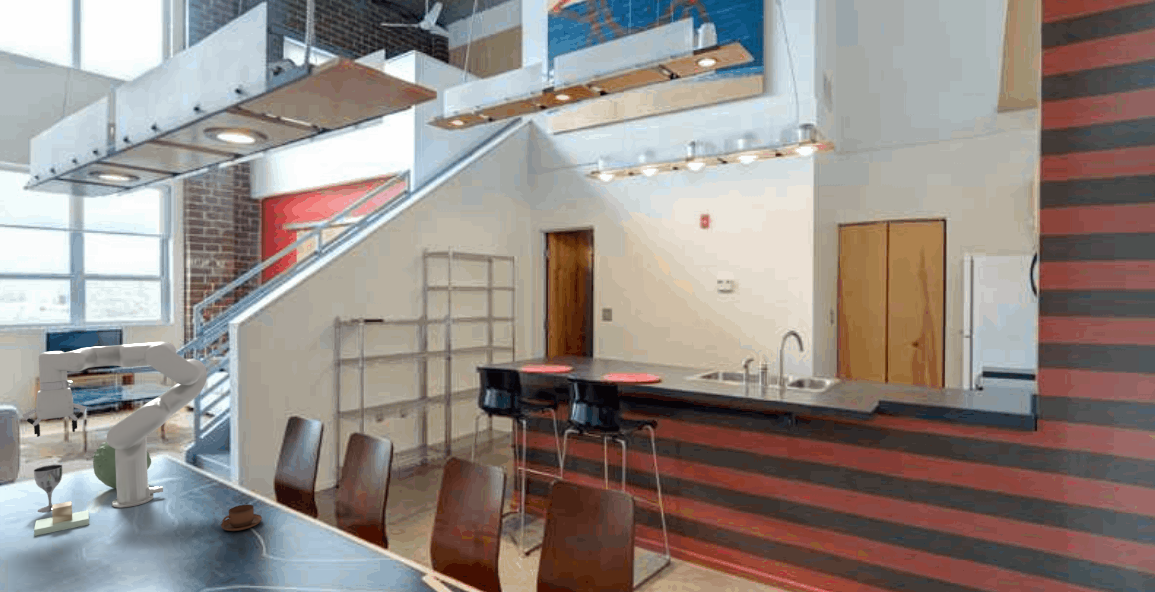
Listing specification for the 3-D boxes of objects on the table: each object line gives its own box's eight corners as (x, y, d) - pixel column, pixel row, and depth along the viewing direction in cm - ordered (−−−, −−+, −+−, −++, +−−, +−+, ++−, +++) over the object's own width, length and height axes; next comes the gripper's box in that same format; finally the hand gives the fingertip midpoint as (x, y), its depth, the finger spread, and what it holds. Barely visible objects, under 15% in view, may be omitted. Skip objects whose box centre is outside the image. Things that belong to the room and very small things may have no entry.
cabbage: (159, 483, 251) (157, 434, 250) (104, 498, 235) (102, 446, 234) (141, 477, 259) (138, 429, 258) (87, 491, 243) (84, 440, 242)
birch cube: (72, 515, 214) (71, 501, 213) (72, 519, 210) (71, 505, 209) (53, 519, 210) (52, 504, 210) (52, 523, 207) (51, 508, 206)
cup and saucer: (244, 535, 200) (243, 516, 200) (212, 532, 202) (211, 514, 202) (270, 520, 212) (269, 503, 211) (239, 518, 214) (238, 500, 214)
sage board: (88, 515, 218) (88, 509, 218) (89, 524, 210) (88, 518, 210) (36, 526, 210) (36, 520, 210) (34, 535, 202) (34, 529, 202)
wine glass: (70, 504, 229) (68, 464, 229) (50, 513, 221) (47, 471, 221) (50, 504, 230) (48, 464, 229) (29, 512, 222) (27, 471, 221)
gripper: (84, 381, 229) (87, 427, 230) (22, 387, 218) (24, 435, 219) (84, 384, 223) (87, 431, 224) (20, 390, 212) (23, 440, 213)
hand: (56, 433), depth 222 cm, fingers open, 9 cm apart
